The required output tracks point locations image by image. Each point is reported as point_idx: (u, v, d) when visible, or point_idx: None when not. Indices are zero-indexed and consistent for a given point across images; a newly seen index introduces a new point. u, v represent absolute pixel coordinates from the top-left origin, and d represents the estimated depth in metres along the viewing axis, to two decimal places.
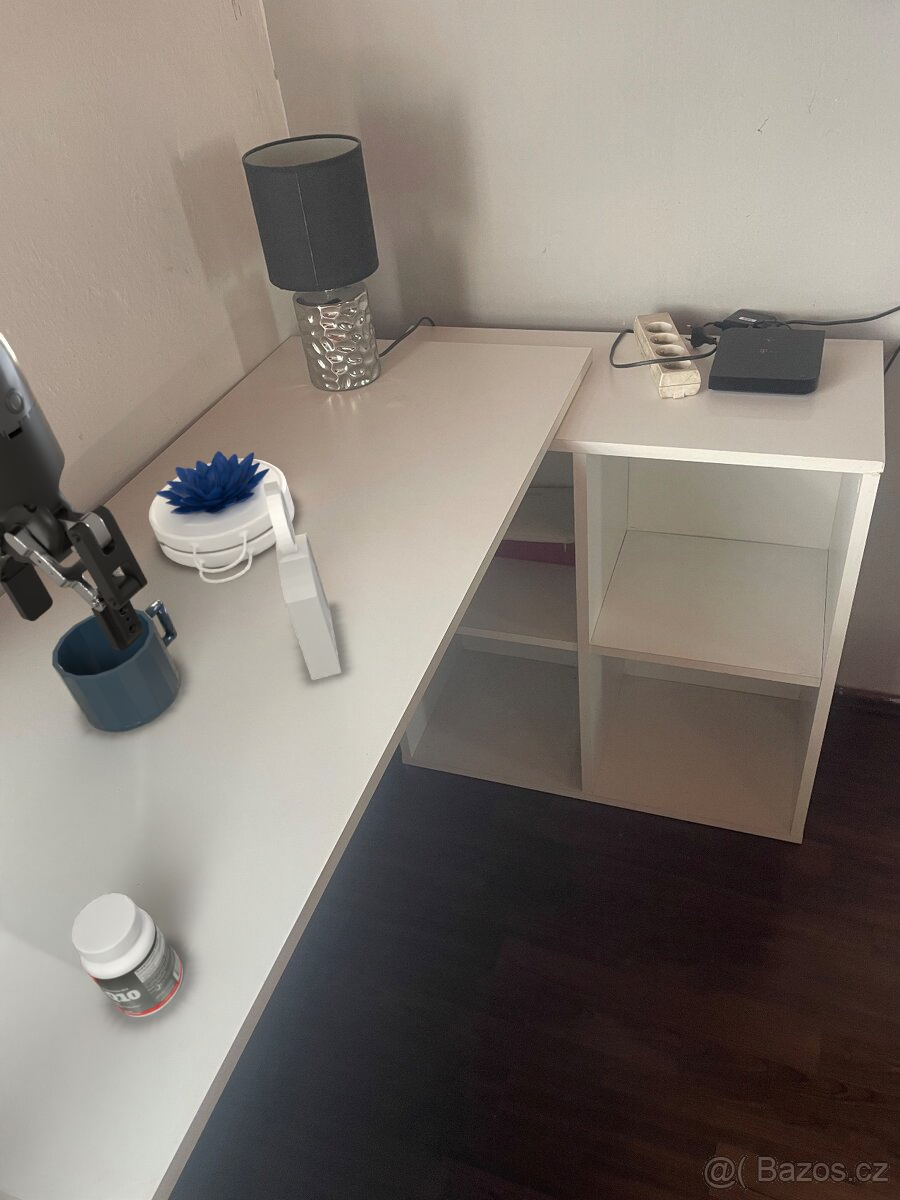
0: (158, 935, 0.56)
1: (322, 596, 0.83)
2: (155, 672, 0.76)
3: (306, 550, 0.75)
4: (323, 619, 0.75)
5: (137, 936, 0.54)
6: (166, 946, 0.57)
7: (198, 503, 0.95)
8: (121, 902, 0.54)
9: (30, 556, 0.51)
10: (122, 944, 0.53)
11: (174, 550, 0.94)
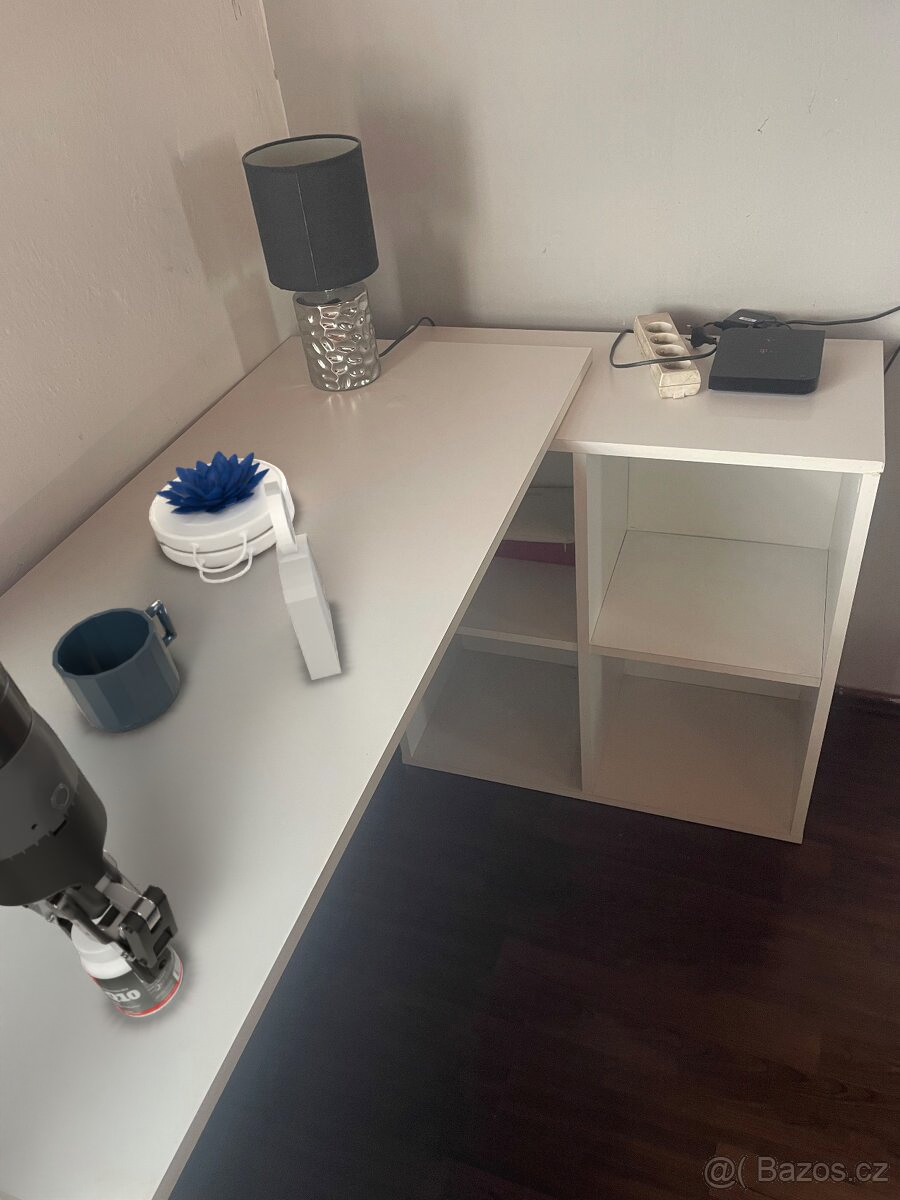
0: None
1: (322, 596, 0.83)
2: (155, 672, 0.76)
3: (306, 550, 0.75)
4: (323, 619, 0.75)
5: None
6: None
7: (198, 503, 0.95)
8: None
9: None
10: None
11: (174, 550, 0.94)
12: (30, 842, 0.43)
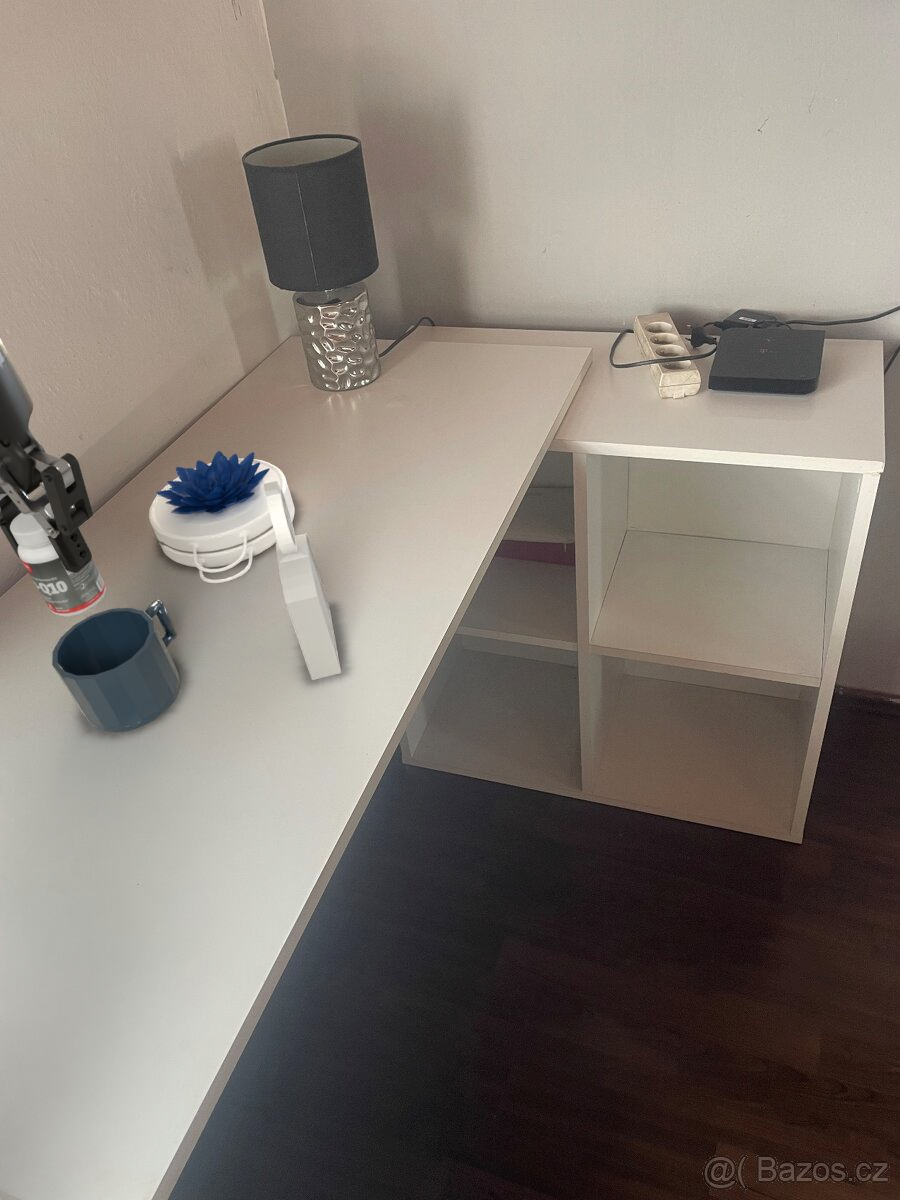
0: None
1: (322, 596, 0.83)
2: (155, 672, 0.76)
3: (306, 550, 0.75)
4: (323, 619, 0.75)
5: None
6: None
7: (198, 503, 0.95)
8: (50, 508, 0.68)
9: (2, 486, 0.62)
10: None
11: (174, 550, 0.94)
12: None
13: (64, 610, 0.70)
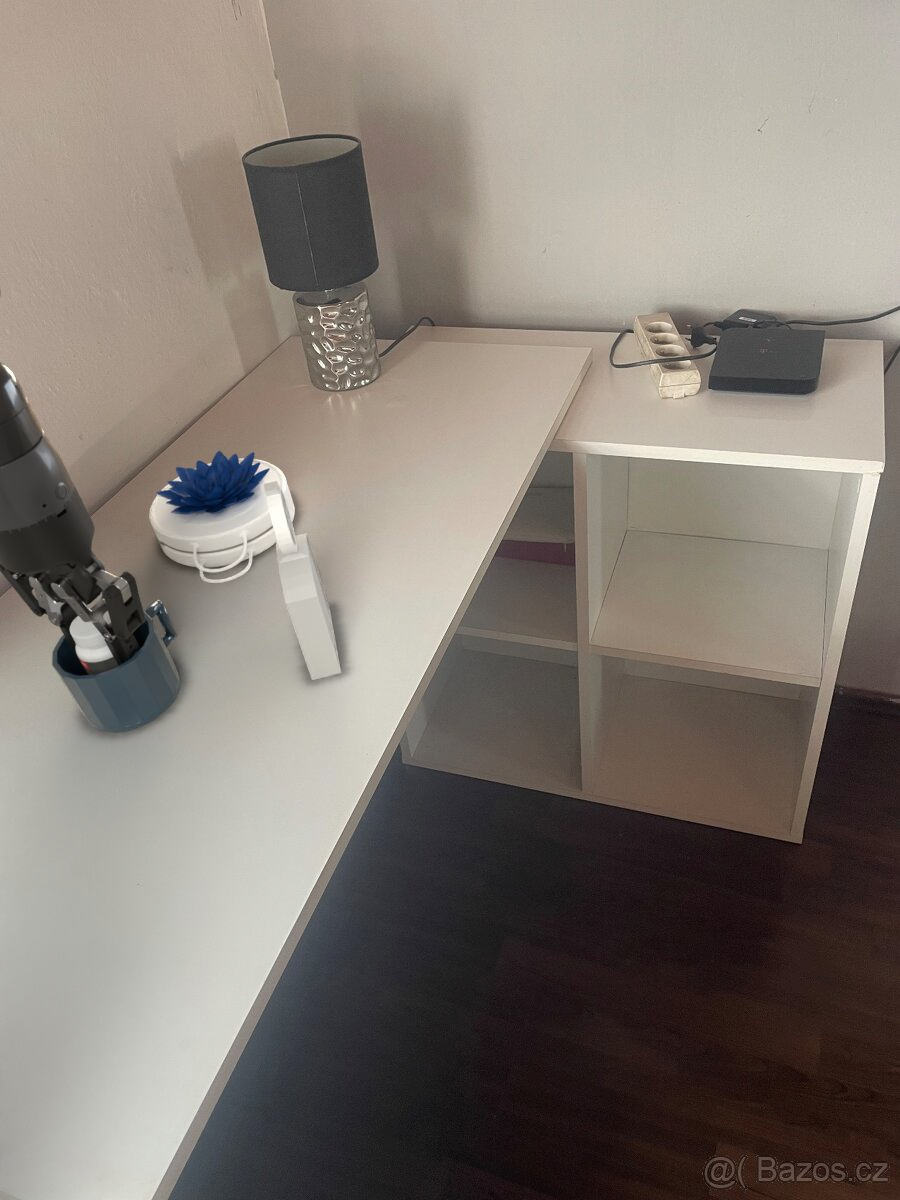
0: None
1: (322, 596, 0.83)
2: (155, 672, 0.76)
3: (306, 550, 0.75)
4: (323, 619, 0.75)
5: None
6: None
7: (198, 503, 0.95)
8: None
9: (66, 599, 0.70)
10: None
11: (174, 550, 0.94)
12: (41, 517, 0.64)
13: None
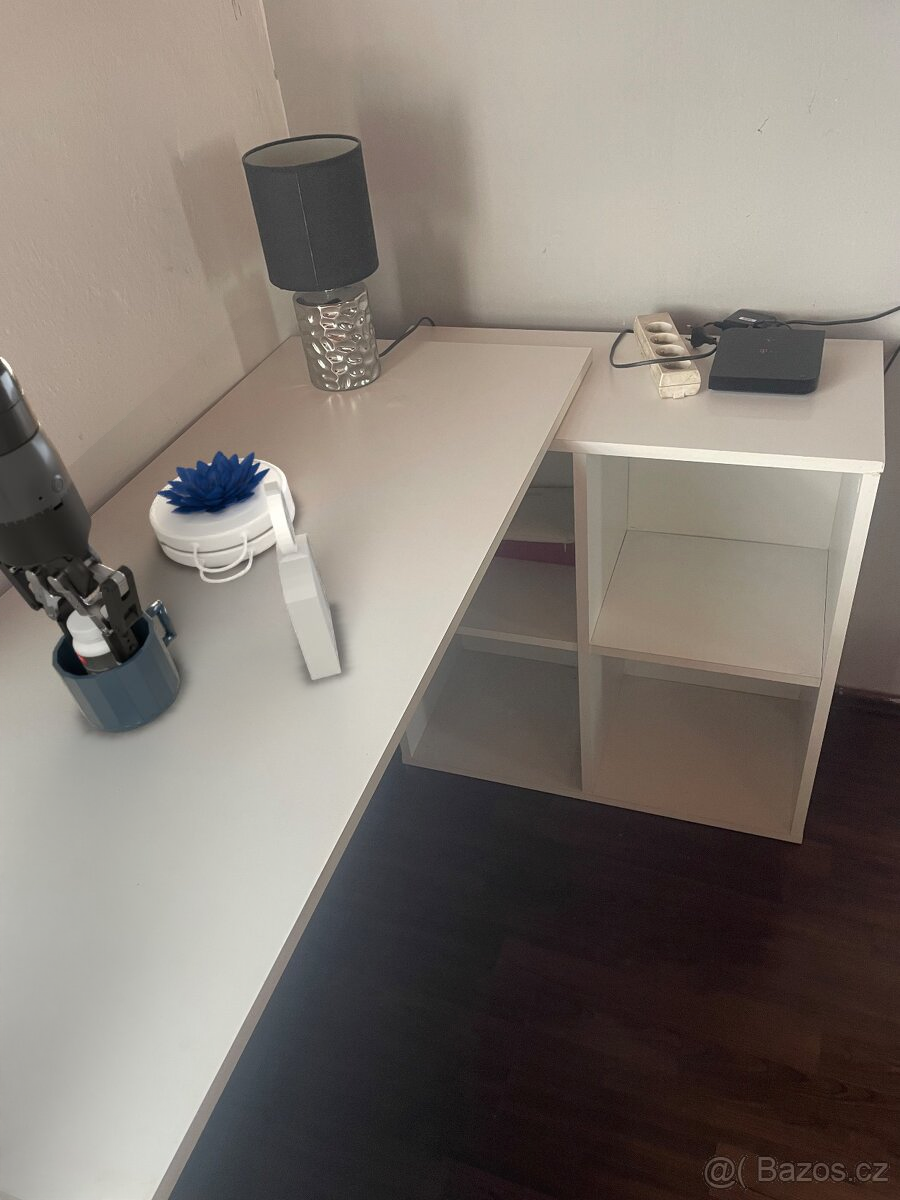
0: None
1: (322, 596, 0.83)
2: (155, 672, 0.76)
3: (306, 550, 0.75)
4: (323, 619, 0.75)
5: None
6: None
7: (199, 503, 0.95)
8: None
9: (63, 593, 0.69)
10: None
11: (175, 550, 0.94)
12: (37, 510, 0.63)
13: None
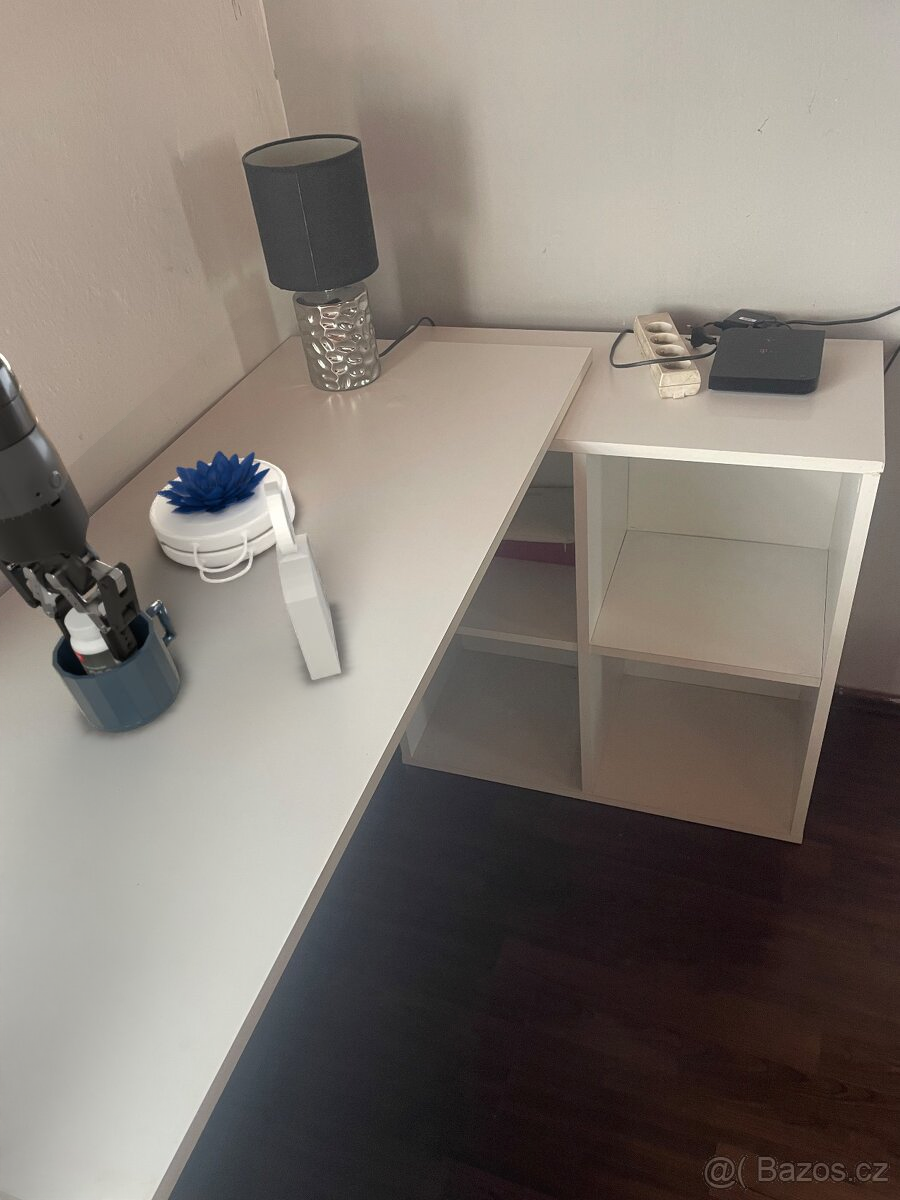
0: None
1: (322, 596, 0.83)
2: (155, 672, 0.76)
3: (306, 550, 0.75)
4: (323, 619, 0.75)
5: None
6: None
7: (199, 503, 0.95)
8: None
9: (61, 590, 0.69)
10: None
11: (175, 550, 0.94)
12: (35, 506, 0.63)
13: None
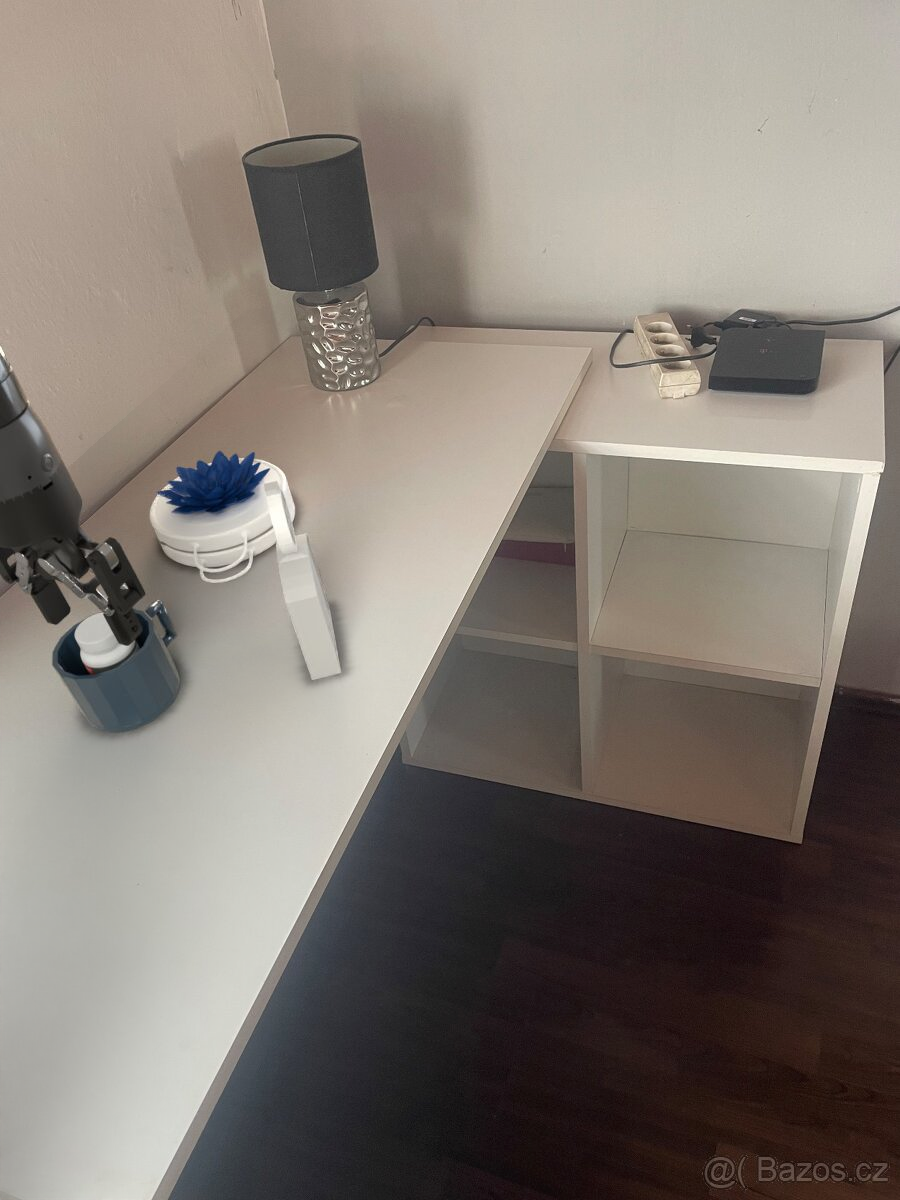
0: (137, 646, 0.77)
1: (322, 596, 0.83)
2: (155, 672, 0.76)
3: (306, 550, 0.75)
4: (323, 619, 0.75)
5: None
6: None
7: (199, 503, 0.95)
8: None
9: (57, 575, 0.68)
10: (110, 639, 0.74)
11: (175, 550, 0.94)
12: (26, 489, 0.62)
13: None
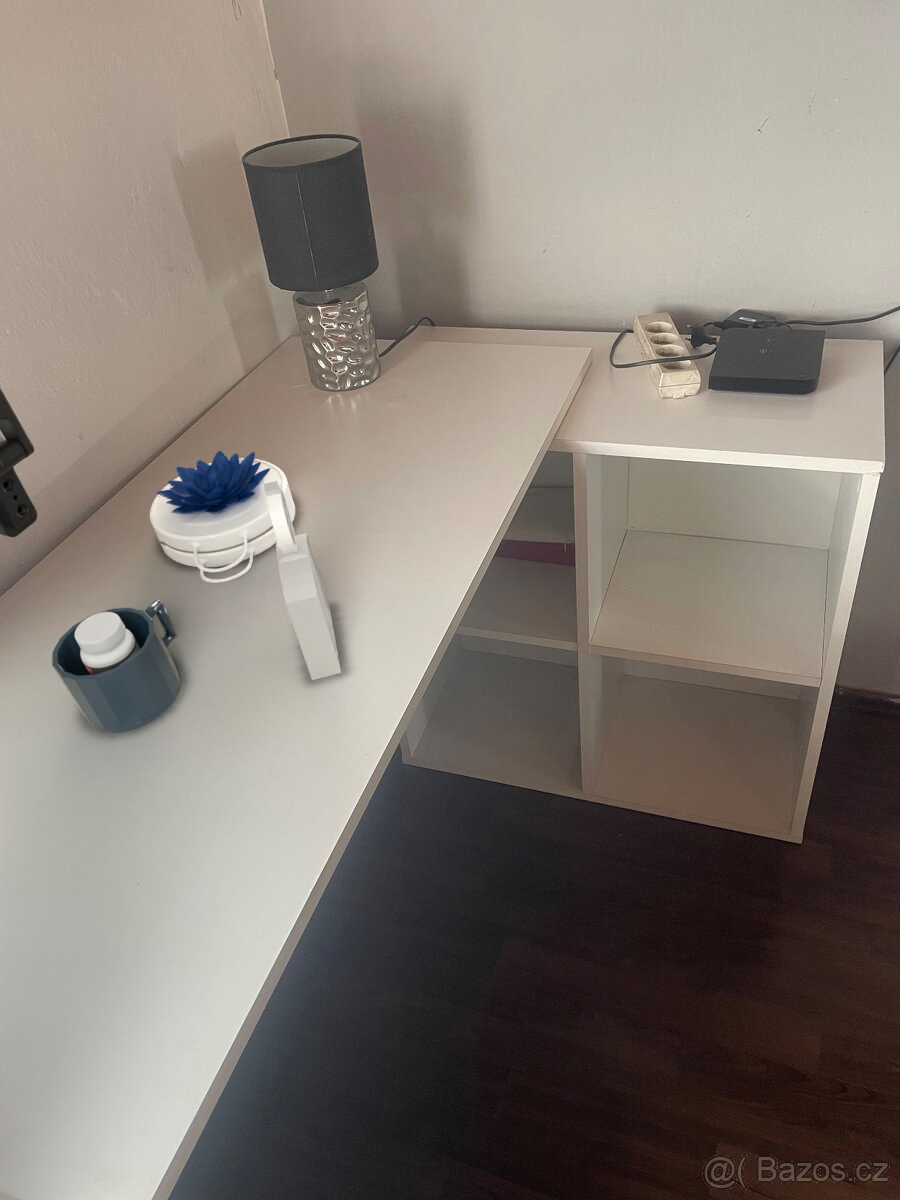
0: (137, 646, 0.77)
1: (322, 596, 0.83)
2: (155, 672, 0.76)
3: (306, 550, 0.75)
4: (323, 619, 0.75)
5: (122, 638, 0.75)
6: None
7: (199, 503, 0.95)
8: (110, 616, 0.75)
9: None
10: (110, 639, 0.74)
11: (175, 550, 0.94)
12: None
13: None
